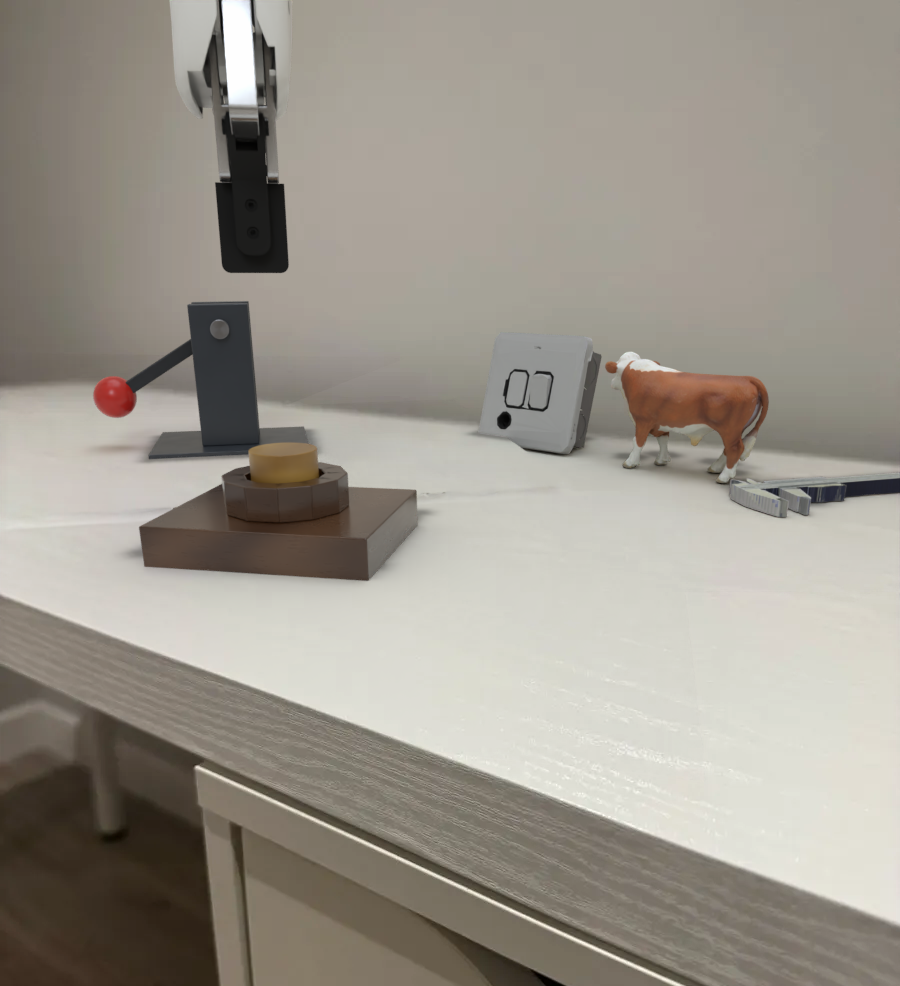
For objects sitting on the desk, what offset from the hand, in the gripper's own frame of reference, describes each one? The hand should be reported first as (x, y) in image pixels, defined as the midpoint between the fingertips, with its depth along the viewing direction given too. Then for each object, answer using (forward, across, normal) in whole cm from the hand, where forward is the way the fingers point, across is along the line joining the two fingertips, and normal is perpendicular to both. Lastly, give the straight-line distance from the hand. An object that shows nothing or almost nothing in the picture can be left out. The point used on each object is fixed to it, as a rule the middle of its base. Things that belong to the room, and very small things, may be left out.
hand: (256, 271), depth 44 cm
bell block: (+14, +1, +1) cm, 14 cm away
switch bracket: (+14, -26, -3) cm, 30 cm away
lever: (+8, -26, -7) cm, 28 cm away
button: (+10, +1, +1) cm, 11 cm away
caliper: (+13, 0, +40) cm, 42 cm away
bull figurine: (+14, -12, +29) cm, 35 cm away
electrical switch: (+14, -24, +22) cm, 36 cm away
